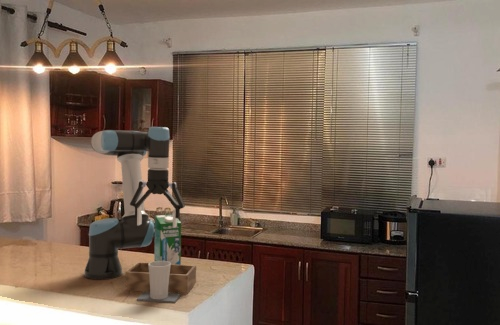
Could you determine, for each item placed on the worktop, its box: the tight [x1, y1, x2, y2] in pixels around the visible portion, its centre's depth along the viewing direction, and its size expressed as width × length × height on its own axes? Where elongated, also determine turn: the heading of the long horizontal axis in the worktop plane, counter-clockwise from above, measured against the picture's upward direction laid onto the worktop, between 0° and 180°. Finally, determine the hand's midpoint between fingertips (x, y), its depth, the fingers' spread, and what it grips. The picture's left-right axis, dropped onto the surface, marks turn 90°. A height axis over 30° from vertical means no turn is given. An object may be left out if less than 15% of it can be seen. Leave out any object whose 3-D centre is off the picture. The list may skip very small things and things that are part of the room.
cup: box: [148, 261, 171, 299], centre depth 161 cm, size 8×8×12 cm
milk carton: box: [153, 214, 182, 265], centre depth 191 cm, size 9×9×25 cm
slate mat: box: [136, 291, 182, 304], centre depth 161 cm, size 14×8×1 cm, turn 84°
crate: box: [125, 262, 197, 295], centre depth 174 cm, size 24×14×7 cm, turn 84°
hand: (157, 225), depth 164 cm, fingers open, 13 cm apart
